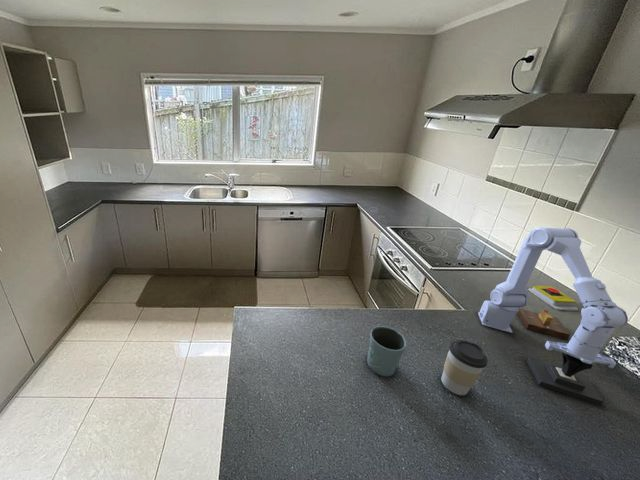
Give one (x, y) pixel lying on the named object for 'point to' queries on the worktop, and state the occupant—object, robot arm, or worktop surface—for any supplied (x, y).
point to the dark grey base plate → (563, 381)
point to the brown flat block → (535, 324)
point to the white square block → (564, 375)
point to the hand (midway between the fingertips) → (566, 373)
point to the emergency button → (554, 298)
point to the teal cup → (385, 350)
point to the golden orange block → (545, 317)
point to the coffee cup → (463, 366)
